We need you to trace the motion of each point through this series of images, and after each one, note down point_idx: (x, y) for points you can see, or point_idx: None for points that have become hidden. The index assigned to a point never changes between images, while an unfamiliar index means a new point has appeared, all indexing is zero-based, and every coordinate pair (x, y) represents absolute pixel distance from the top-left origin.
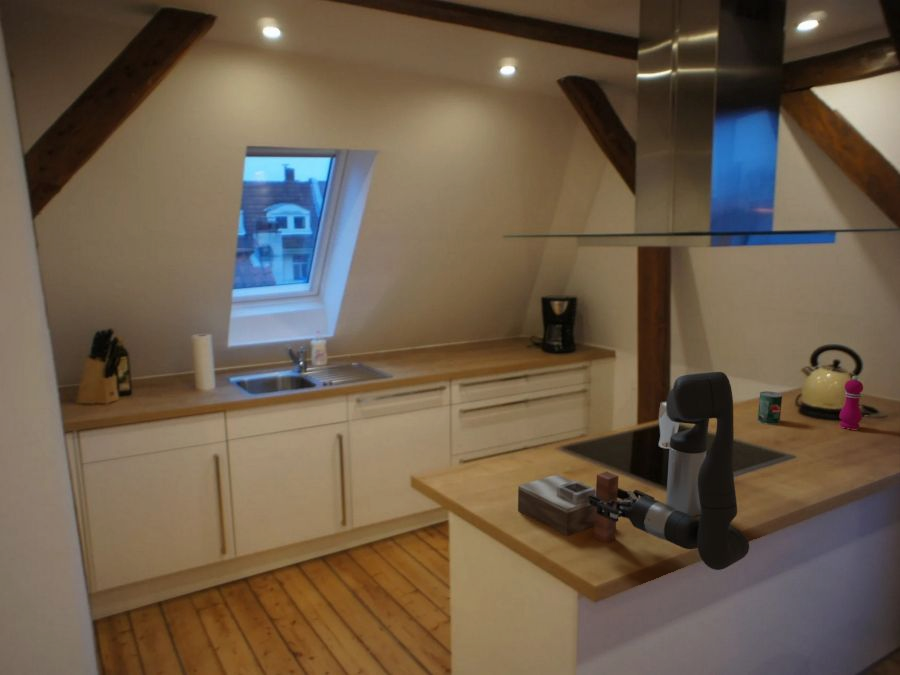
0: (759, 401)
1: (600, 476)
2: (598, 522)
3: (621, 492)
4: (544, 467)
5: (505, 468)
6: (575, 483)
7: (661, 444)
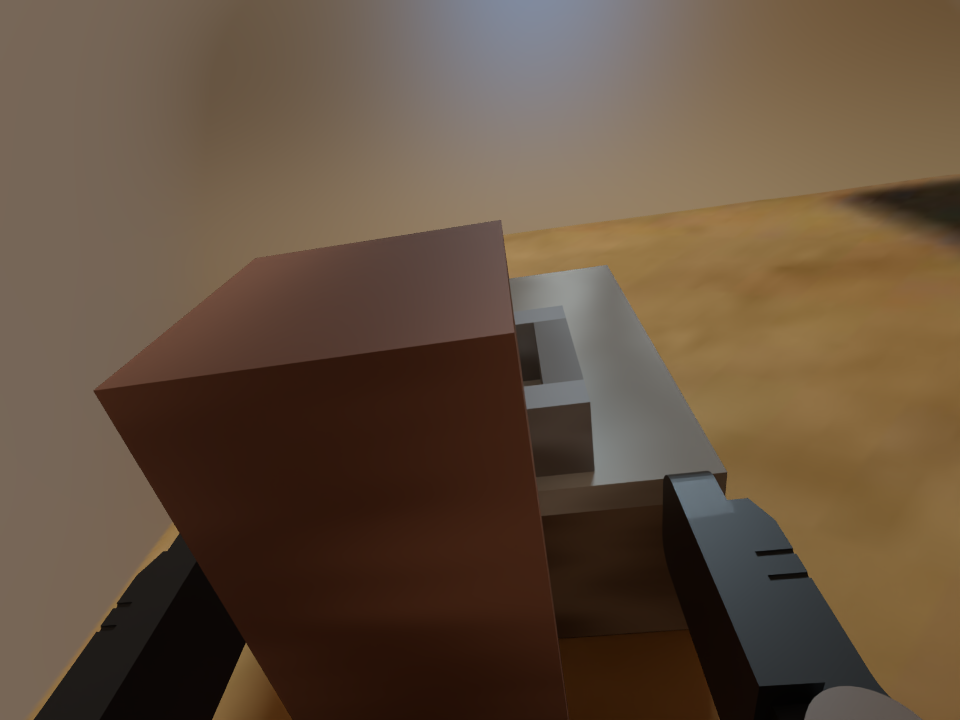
0: None
1: (219, 292)
2: None
3: (720, 627)
4: (721, 248)
5: (597, 245)
6: (528, 324)
7: None
